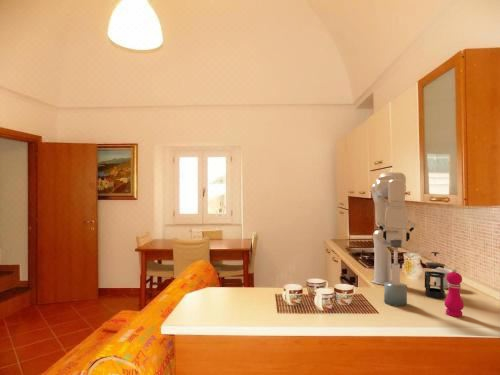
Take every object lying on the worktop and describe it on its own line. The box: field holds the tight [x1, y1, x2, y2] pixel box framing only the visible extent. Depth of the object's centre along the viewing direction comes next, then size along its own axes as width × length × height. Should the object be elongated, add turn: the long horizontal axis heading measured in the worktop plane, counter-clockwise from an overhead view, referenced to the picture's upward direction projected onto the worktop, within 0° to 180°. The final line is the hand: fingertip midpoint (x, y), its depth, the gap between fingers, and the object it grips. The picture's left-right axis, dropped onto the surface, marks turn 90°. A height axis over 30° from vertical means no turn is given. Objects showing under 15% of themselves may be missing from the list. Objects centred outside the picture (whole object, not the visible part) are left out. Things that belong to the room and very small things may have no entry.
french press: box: [424, 251, 446, 300], centre depth 180 cm, size 12×9×23 cm
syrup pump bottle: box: [383, 263, 408, 307], centre depth 165 cm, size 10×10×18 cm
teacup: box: [430, 267, 452, 290], centre depth 200 cm, size 12×15×10 cm
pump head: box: [389, 239, 403, 265], centre depth 167 cm, size 8×5×12 cm, turn 157°
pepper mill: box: [444, 268, 465, 318], centre depth 150 cm, size 7×7×20 cm
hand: (396, 240), depth 166 cm, fingers open, 9 cm apart
